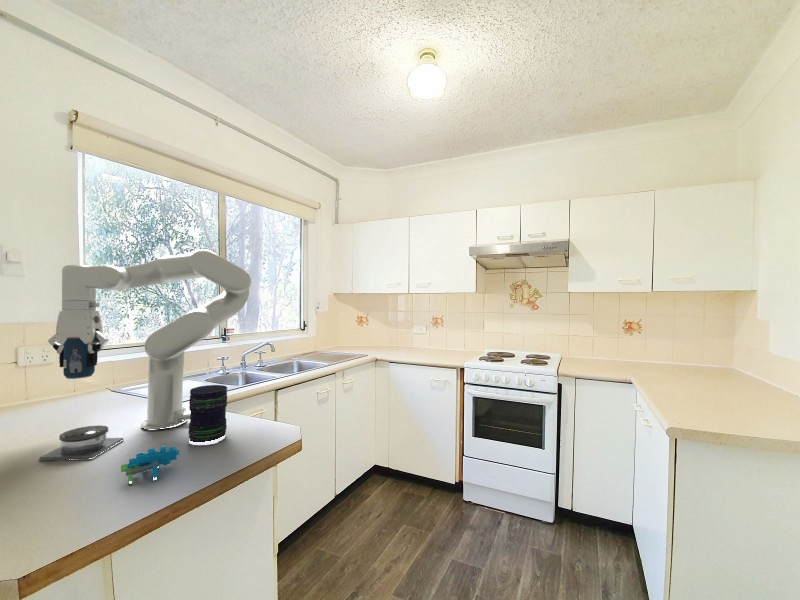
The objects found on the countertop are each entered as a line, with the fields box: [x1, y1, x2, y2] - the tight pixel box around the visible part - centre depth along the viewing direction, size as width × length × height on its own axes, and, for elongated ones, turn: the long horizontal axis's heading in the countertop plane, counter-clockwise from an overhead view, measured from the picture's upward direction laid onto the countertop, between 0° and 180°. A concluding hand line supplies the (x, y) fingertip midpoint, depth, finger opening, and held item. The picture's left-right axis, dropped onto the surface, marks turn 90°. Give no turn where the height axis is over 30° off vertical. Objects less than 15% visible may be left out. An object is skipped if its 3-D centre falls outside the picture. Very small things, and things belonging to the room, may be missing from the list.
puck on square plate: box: [38, 425, 124, 462], centre depth 95 cm, size 12×12×5 cm
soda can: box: [62, 338, 96, 380], centre depth 106 cm, size 7×7×12 cm
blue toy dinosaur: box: [120, 445, 180, 481], centre depth 81 cm, size 11×6×10 cm
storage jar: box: [187, 384, 228, 442], centre depth 104 cm, size 10×10×15 cm
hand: (78, 365), depth 106 cm, fingers closed on soda can, 6 cm apart
